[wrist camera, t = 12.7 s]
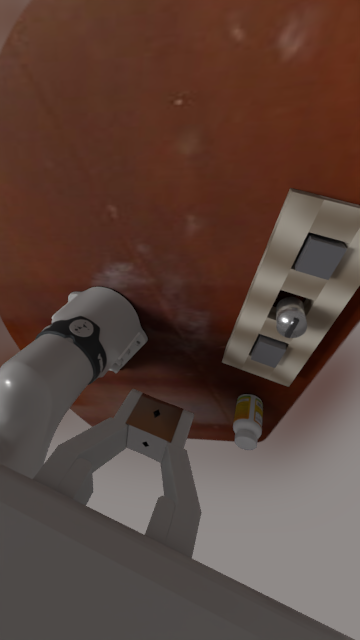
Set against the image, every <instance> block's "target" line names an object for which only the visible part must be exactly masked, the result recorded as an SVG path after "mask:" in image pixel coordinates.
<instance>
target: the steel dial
mask: <svg viewBox="0 0 360 640" xmlns="http://www.w3.org/2000/svg"><path fill="white" fill-rule="evenodd" d="M276 328H277V331H278V332H279V334H280V335H282V336H284V337H286V338H297V337H300V336H301V335H303V334H304V333H305V332H306V330H307V321H306V316H305V310H304V305H303V303H302V301H301V300H300V299H298V298H296V297H285V298H283V299H281V300H280V301H279V302H278V304H277V307H276Z"/></svg>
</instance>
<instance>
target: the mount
mask: <svg viewBox="0 0 360 640" xmlns="http://www.w3.org/2000/svg"><path fill="white" fill-rule="evenodd" d="M308 232H310V233H314V234H317V235H321V236H325V237H329V238H332V239H336V240H340V241H341V242H342V243H343V244H344V245H345V247H346V248H347V250H346V252H345V254H344V255H343V257H342V259H341V260H340V262H339V264H338V265H337V267H336V269H335V270H334V272H333V274H332V275H331V277H330V279H329V280H326V279H322V278H319V277H316V276H312V275H309V274H305V273H302V272H299V271H296V269H295V263H294V261H295V259H296V257H297V255H298V253H299V251H300V248H301V246H302V244H303V242H304V240H305V238H306V236H307V234H308ZM359 286H360V205H357V204H353V203H349V202H345V201H341V200H337V199H333V198H329V197H325V196H321V195H317V194H313V193H309V192H305V191H301V190H297V189H293V188H290V190H289V192H288V195H287V197H286V200H285V202H284V205H283V207H282V210H281V212H280V215H279V217H278V219H277V222H276V224H275V227H274V229H273V232H272V234H271V237H270V239H269V242H268V244H267V247H266V249H265V252H264V254H263V257H262V259H261V262H260V264H259V267H258V269H257V272H256V274H255V277H254V279H253V282H252V284H251V286H250V289H249V291H248V294H247V296H246V299H245V301H244V304H243V306H242V309H241V311H240V314H239V316H238V319H237V321H236V324H235V326H234V329H233V331H232V334H231V336H230V339H229V341H228V344H227V346H226V349H225V352H224V356H223V360H222V363H225V364H228V365H230V366H233V367H236V368H239V369H241V370H244V371H247V372H250V373H252V374H255V375H258V376H260V377H263V378H266V379H269V380H271V381H274V382H277V383H280V384H282V385H285V386H288V387H289V386H290V384H291V383H292V382H293V380H294V379H295V377H296V376H297V374H298V373H299V372H300V370H301V369H302V367H303V366H304V364H305V363H306V362H307V360H308V359H309V357H310V356H311V354H312V353H313V352H314V350H315V349H316V347H317V346H318V344H319V343H320V341H321V340H322V339H323V337H324V336H325V334H326V333H327V331H328V330H329V329H330V327H331V326H332V324H333V323H334V321H335V320H336V319H337V317H338V316H339V314H340V313H341V311H342V310H343V309H344V307H345V306H346V304H347V303H348V301H349V300H350V299H351V297H352V296H353V294H354V293H355V291H356V290H357V289H358V287H359ZM280 290H283V291H286V292H289V293H292V294H295V295H299V296H302V297H305V298H306V300H305V302H304V303H303V305H304V310H305V316H306V321H307V330H306V332H305V333H304V334H303V335H301V336H300V337H297V338H286V337H284V336H282V335H280V334H279V332H278V331H277V328H276V307H273V304H274V302H275V300H276V298H277V296H278V293H279V291H280ZM258 334H262V335H264V336H267V337H270V338H273V339H276V340H279V341H282V342H285V343H286V351H285V353H284V355H283V356H282V358H281V360H280V361H279V363H278V364H277V366H276V368H273V367H270V366H267V365H265V364H262V363H259V362H256V361H254V360H251V354H252V347H253V345H254V343H255V341H256V339H257V336H258Z"/></svg>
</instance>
